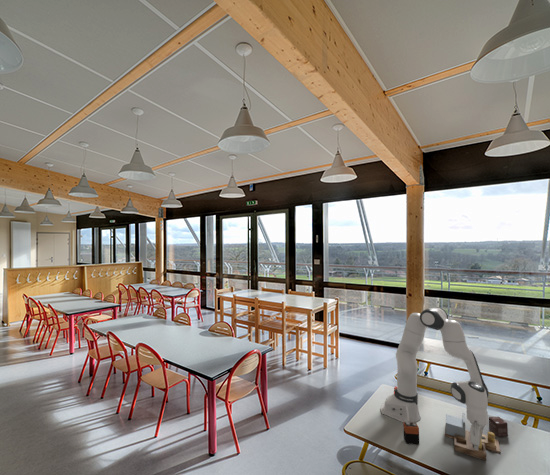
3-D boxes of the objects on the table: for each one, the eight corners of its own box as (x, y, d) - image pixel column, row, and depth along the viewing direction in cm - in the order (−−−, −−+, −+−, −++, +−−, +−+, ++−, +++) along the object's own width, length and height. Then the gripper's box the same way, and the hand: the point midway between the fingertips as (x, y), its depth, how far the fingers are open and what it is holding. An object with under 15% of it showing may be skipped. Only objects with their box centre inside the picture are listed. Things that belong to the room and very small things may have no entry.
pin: (474, 450, 142) (473, 436, 142) (474, 447, 145) (474, 433, 145) (481, 453, 140) (481, 439, 140) (482, 449, 143) (481, 436, 143)
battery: (403, 438, 153) (403, 419, 153) (416, 439, 152) (416, 420, 152) (406, 444, 149) (405, 425, 149) (419, 445, 148) (419, 426, 148)
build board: (454, 450, 144) (454, 444, 144) (454, 439, 152) (454, 434, 152) (486, 460, 137) (486, 454, 137) (484, 449, 145) (484, 443, 145)
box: (499, 429, 159) (498, 416, 159) (508, 436, 153) (507, 423, 153) (488, 429, 159) (488, 416, 159) (497, 437, 153) (497, 423, 153)
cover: (445, 433, 155) (445, 417, 155) (446, 424, 162) (445, 408, 162) (465, 439, 150) (465, 422, 150) (465, 429, 157) (464, 413, 157)
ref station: (444, 436, 154) (444, 425, 154) (445, 425, 163) (445, 415, 163) (500, 453, 142) (500, 441, 142) (497, 441, 150) (497, 430, 150)
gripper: (482, 429, 133) (482, 459, 133) (487, 410, 148) (487, 436, 148) (466, 424, 137) (466, 452, 137) (472, 405, 152) (473, 431, 152)
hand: (477, 444), depth 143 cm, fingers open, 8 cm apart
